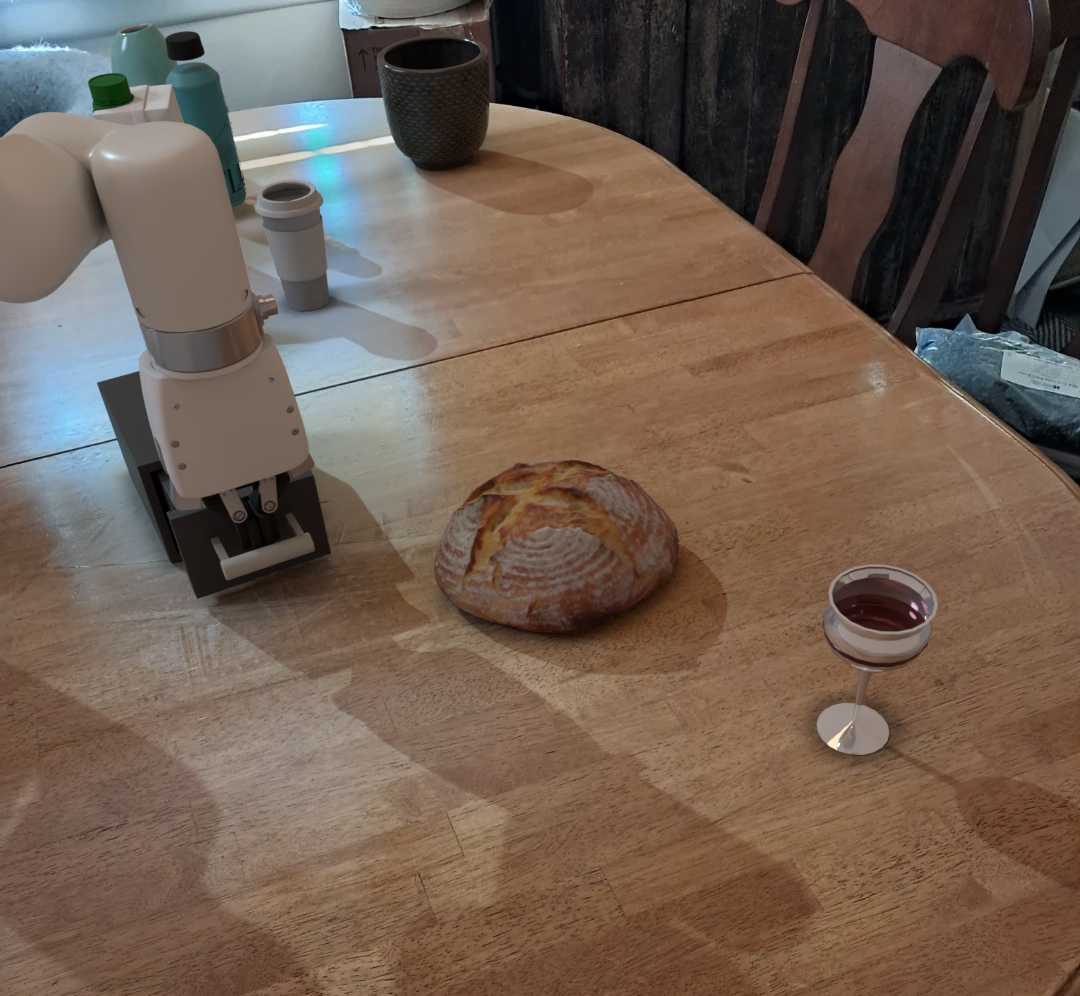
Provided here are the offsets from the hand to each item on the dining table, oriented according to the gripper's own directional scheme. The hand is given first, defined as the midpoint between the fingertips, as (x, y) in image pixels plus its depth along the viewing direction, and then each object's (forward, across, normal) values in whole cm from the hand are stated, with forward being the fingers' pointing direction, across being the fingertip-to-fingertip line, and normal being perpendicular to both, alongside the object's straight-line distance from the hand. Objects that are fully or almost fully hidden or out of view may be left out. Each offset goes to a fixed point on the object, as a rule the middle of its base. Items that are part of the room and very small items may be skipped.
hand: (262, 549), depth 90 cm
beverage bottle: (+5, -18, -75) cm, 77 cm away
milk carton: (+5, -10, -64) cm, 65 cm away
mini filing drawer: (+4, 0, -6) cm, 7 cm away
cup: (+5, -19, -46) cm, 51 cm away
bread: (+5, -21, +9) cm, 23 cm away
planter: (+5, -48, -74) cm, 89 cm away
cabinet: (+5, 0, -16) cm, 16 cm away
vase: (+5, -16, -89) cm, 91 cm away
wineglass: (+5, -31, +34) cm, 47 cm away
